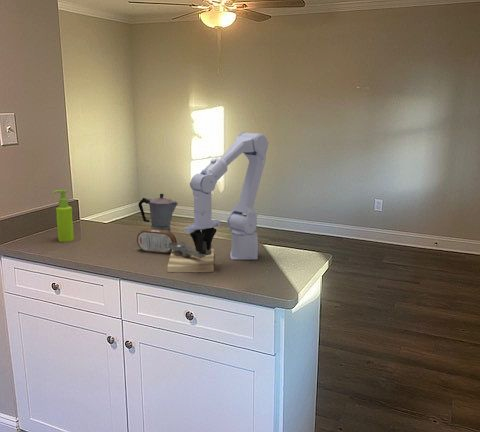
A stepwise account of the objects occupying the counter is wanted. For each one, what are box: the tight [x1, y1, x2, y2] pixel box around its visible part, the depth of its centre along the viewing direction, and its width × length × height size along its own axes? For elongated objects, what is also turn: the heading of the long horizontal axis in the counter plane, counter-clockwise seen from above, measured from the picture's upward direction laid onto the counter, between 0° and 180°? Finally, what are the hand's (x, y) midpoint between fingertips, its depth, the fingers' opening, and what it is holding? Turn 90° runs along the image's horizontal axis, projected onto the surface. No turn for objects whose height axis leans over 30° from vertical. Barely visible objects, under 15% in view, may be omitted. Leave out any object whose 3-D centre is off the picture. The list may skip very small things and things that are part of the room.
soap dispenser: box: [51, 189, 75, 243], centre depth 194 cm, size 6×7×20 cm
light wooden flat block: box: [166, 245, 215, 273], centre depth 170 cm, size 19×15×6 cm
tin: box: [136, 228, 178, 254], centre depth 181 cm, size 15×3×8 cm, turn 74°
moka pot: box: [138, 193, 179, 233], centre depth 189 cm, size 10×15×20 cm, turn 89°
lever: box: [168, 239, 207, 258], centre depth 169 cm, size 18×4×7 cm, turn 47°
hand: (203, 250), depth 164 cm, fingers open, 3 cm apart
